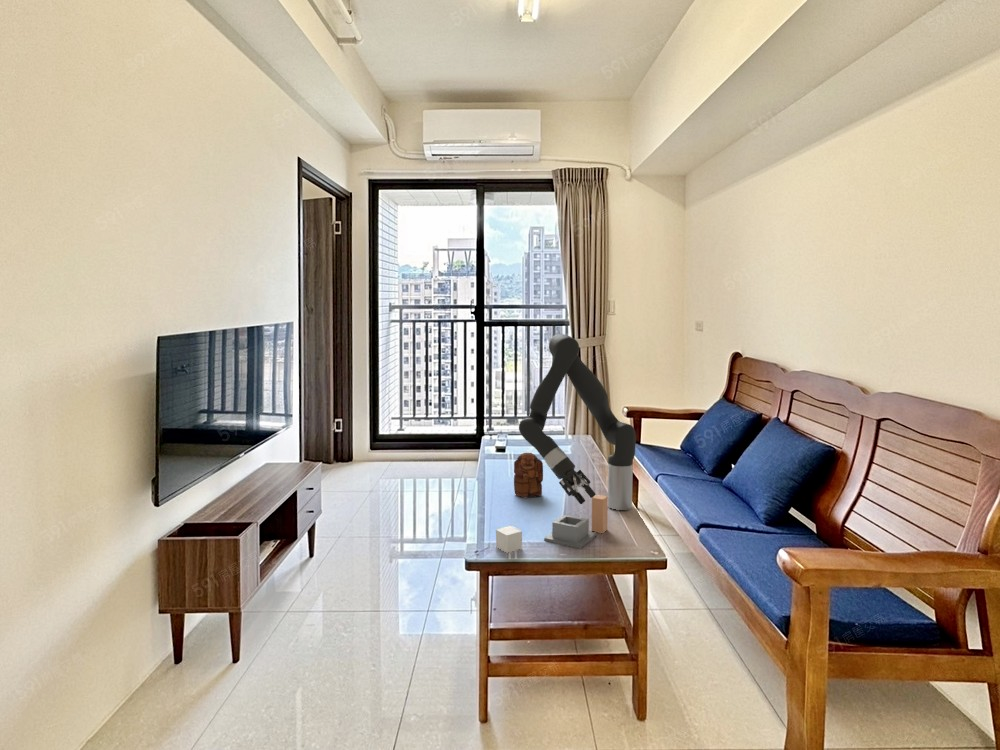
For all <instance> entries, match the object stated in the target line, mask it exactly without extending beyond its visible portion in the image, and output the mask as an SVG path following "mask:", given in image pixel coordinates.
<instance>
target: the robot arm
mask: <svg viewBox="0 0 1000 750" xmlns="http://www.w3.org/2000/svg"><path fill="white" fill-rule="evenodd" d="M548 349H549V352H550V354H551V356H553V361H552V364H551V367H550V369H549V370H548V372H547V373H546V375H545V377H544V378H543V379H542V381H541V382H540V383H539V385H538V386H537V387H536V391H535V392H534V394H533V397H532V400H531V402H530V405H529V408H530V413H529V416H528V417H526V418H524V419H522V420H521V421H519V424H518V431H519V433H520V434H521V436H522V437H523V439H524V440H525V441H526V442H527V443H528V444H530V445H531V446H532V447H533V449H535V450H536V451H537V452H538V454H539V455H540V456H541V458H542V459H543V460H544V462H545V464H546V465H547V466H548V468H549V469H550V470H551V471H552V472H553V474H554V475H555V476H556V478H557V479H558V480H560V481H559V482H558V483H559V485H560V487H561V488H562V489H563V490H564V491H565V493H566V494H567V496H568V497H570V496H572V497H574V498H575V500H576V501H577V503H579V505H582V504H584V503H585V502H586V499H585V498H584V496H583V495H582V493H580V491H579V490H578V488H582V489H583V490H584V492H585V493H586V494H587V495H588V496H589V497H590V498H591V499H592V497H594V496H595V495H597V494H596V492H595V491H594V490H593V489H592V487H591V485H590V484H591V480H590V479H589V478H588V477H587V476H586V475H585V473H584V472H583V471H582V470H581V469H578V471H576V470H575V469H576V465H575V463H574V462H573V461H571V458H570V457H569V456H568V455H567V454H566V452H565V451H563V449H562V448H561V447H560V446H559V445H558V444H557V442H556V441H555V440H554V439H553V438H552V437H551V436H550V435H547V434H545V432H544V428H545V425H546V421H547V418H548V417H547V416H548V412H549V411H550V408H551V405H552V404H553V402H554V398H555V397H556V394H557V392H558V390H559V388H560V385H562V383H563V382H562V381H563V380H564V378H565V377H566V375H567V377H568V379H569V380H570V383H571V384H572V386H573V387H574V389H575V390H576V392H577V394H578V395H579V397H580V399H581V400H582V402H583V403H584V404H585V406H586V408H587V409H588V411H589V413H590V414H591V415H592V417H593V418H594V419H595V421H596V422H597V425H598V426H599V428H600V430H601V433H602V434H603V436H604V438H605V440H606V441H607V443H609V444H611V445H614V453H613V454H610V455H609V456H608V459H607V462H608V463H607V496H608V498H607V508H608V509H610V508H612V509H611V510H613V509H616V510H615V511H619V510H625V511H630V510H631V509H632V507H633V467H634V466H633V465H634V464H633V463H634V459H635V455H636V444H637V443H636V442H637V436H636V435H637V434H636V430H635V428H634V426H633V425H631V424H629V423H625V422H622V421H620V420H619V419H618V418H617V417H616V416H615V414H614V413H613V411H612V410H611V408H610V404H609V396H608V393H607V390H606V389H605V387H604V385H603V384H602V383H601V381H600V380H599V378H598V377H597V375H596V374H595V373H593V371H592V370H591V369H590V368H589V367H588V366H587V365H586V364H585V363H584V362H583V361H582V359H581V358H580V356H579V354H580V353H579V352H580V345H579V343H578V341H577V340H576V338H574V337H572V336H570V335H567V334H565V333H559V334H555V335H553V336H552V337H551V338H550V340H549V343H548ZM629 509H630V510H629Z"/></svg>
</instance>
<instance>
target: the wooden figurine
mask: <svg viewBox="0 0 1000 750" xmlns="http://www.w3.org/2000/svg"><path fill="white" fill-rule="evenodd" d="M513 472H514V476H513V487H514V489H513V490H514V495H515V494H516V495H517V497H518V496H521V497H520V498H522V497H527V498H536V497H542V496H543V485H542V482H544V481H543V480H544V465H543V461H542V460H541V459H539V458H538V457H537V456H536V455H535V454H534V453H532V452H523V453H521V454H519V455H518V456H517V458H516V459H515V461H514V462H513ZM516 495H515V496H516ZM535 496H536V497H535Z"/></svg>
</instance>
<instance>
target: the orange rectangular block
mask: <svg viewBox="0 0 1000 750" xmlns="http://www.w3.org/2000/svg"><path fill="white" fill-rule="evenodd" d="M606 530H607V531H608V495H602V494H596V495H595V496H594V497H592V498H591V532H592V531H595V533H596V532H598V533H597V534H601V533H603V534H604V533H606V532H605V531H606Z"/></svg>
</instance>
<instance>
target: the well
mask: <svg viewBox="0 0 1000 750" xmlns="http://www.w3.org/2000/svg"><path fill="white" fill-rule="evenodd" d="M589 523H590V519H589V518H585V517H580V516H576V515H575V516H574V515H569V514H566V513H565V514H563V515H562V516H560V517H559V518H556V520H554V521H552V524H551V525H552V528H551V529H552V532H551V533H549V534H547V535H546V536H544V538H543V539H544V542H548V543H552V542H553V544H556V545H557V544H558V545H561V546H566V547H571V548H575V549H579V550H581V549H582V548H583V547H584V546H586V545H588V543H589V542H591V541H592V540H594V538H596V537H597V536H598V535H597V534H598V533H596V532H592V531H590V529H589V528H590V525H589ZM596 535H597V536H596ZM595 536H596V537H595ZM590 540H591V541H590ZM585 544H586V545H585Z"/></svg>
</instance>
